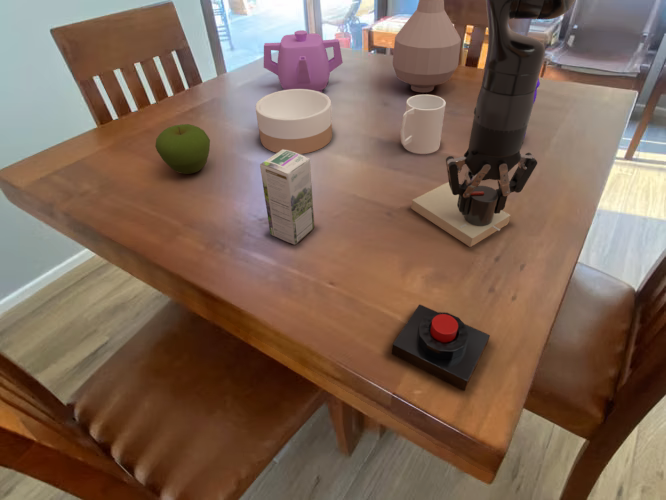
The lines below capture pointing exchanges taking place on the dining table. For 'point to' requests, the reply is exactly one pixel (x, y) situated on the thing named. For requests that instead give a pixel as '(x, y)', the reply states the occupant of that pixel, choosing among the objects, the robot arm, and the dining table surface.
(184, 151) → the apple
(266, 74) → the dining table surface
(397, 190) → the dining table surface
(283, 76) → the teapot
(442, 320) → the button
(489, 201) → the hob knob
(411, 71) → the vase
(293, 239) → the syrup box
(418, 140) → the cup
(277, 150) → the bowl
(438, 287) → the dining table surface
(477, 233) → the hob panel
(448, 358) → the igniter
